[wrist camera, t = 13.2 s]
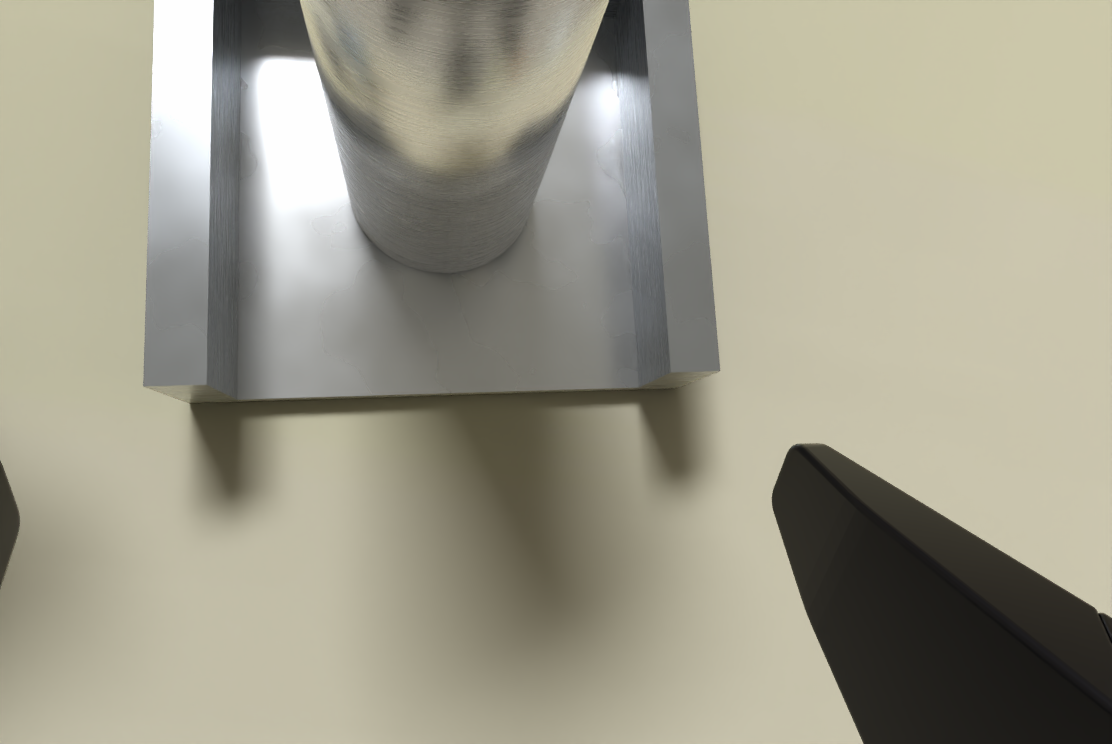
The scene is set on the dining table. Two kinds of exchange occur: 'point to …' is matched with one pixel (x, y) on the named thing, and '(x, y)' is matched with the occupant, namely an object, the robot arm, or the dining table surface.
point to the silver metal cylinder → (447, 115)
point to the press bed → (389, 286)
